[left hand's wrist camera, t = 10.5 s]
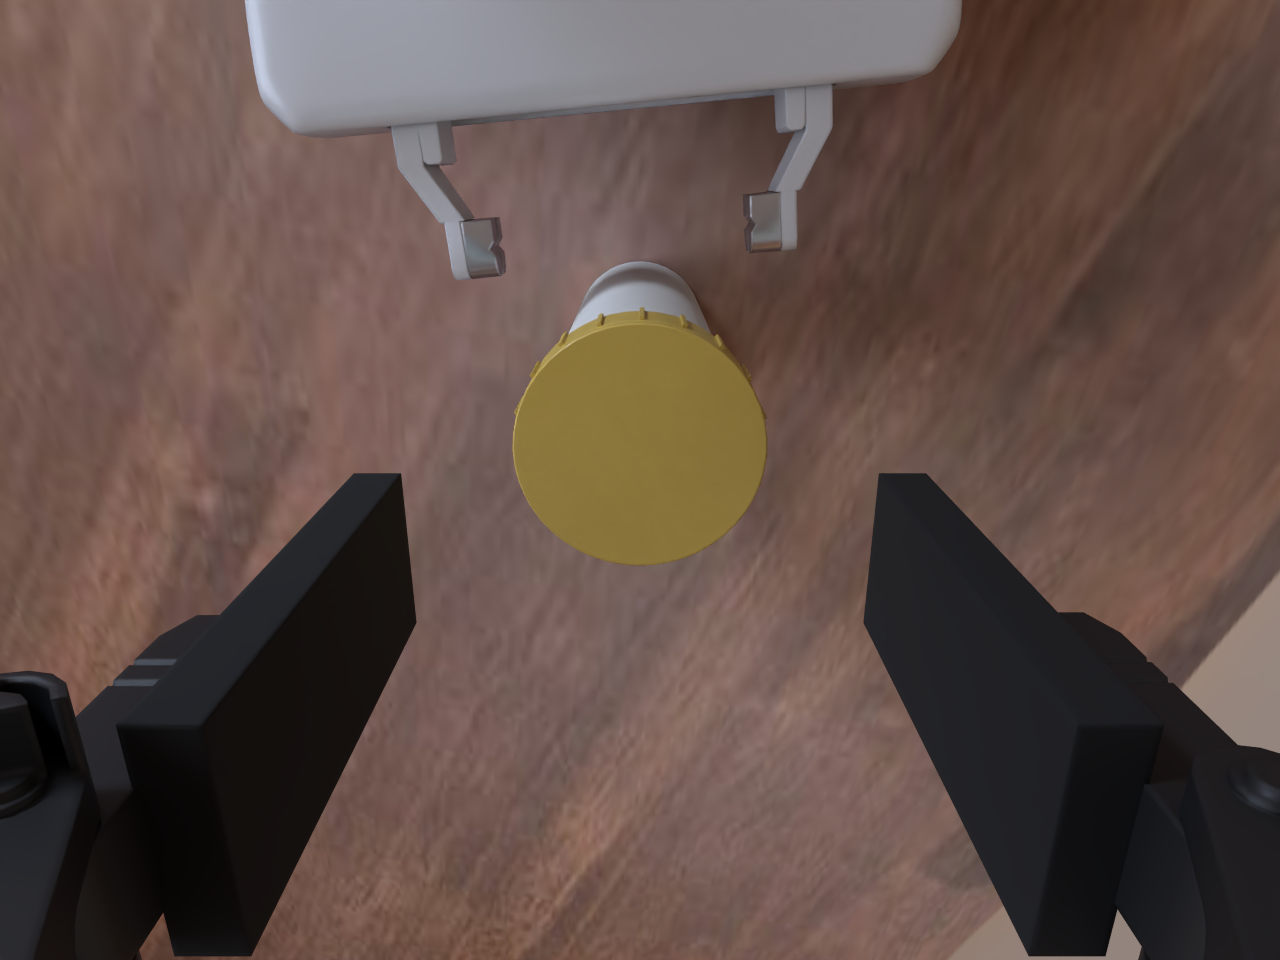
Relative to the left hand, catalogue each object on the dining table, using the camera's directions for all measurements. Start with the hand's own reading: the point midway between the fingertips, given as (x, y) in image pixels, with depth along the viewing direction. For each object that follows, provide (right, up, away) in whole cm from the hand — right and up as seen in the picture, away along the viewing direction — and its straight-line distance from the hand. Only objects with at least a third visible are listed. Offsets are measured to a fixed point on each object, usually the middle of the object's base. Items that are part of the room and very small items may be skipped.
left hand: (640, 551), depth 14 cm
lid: (0, +2, +5) cm, 6 cm away
